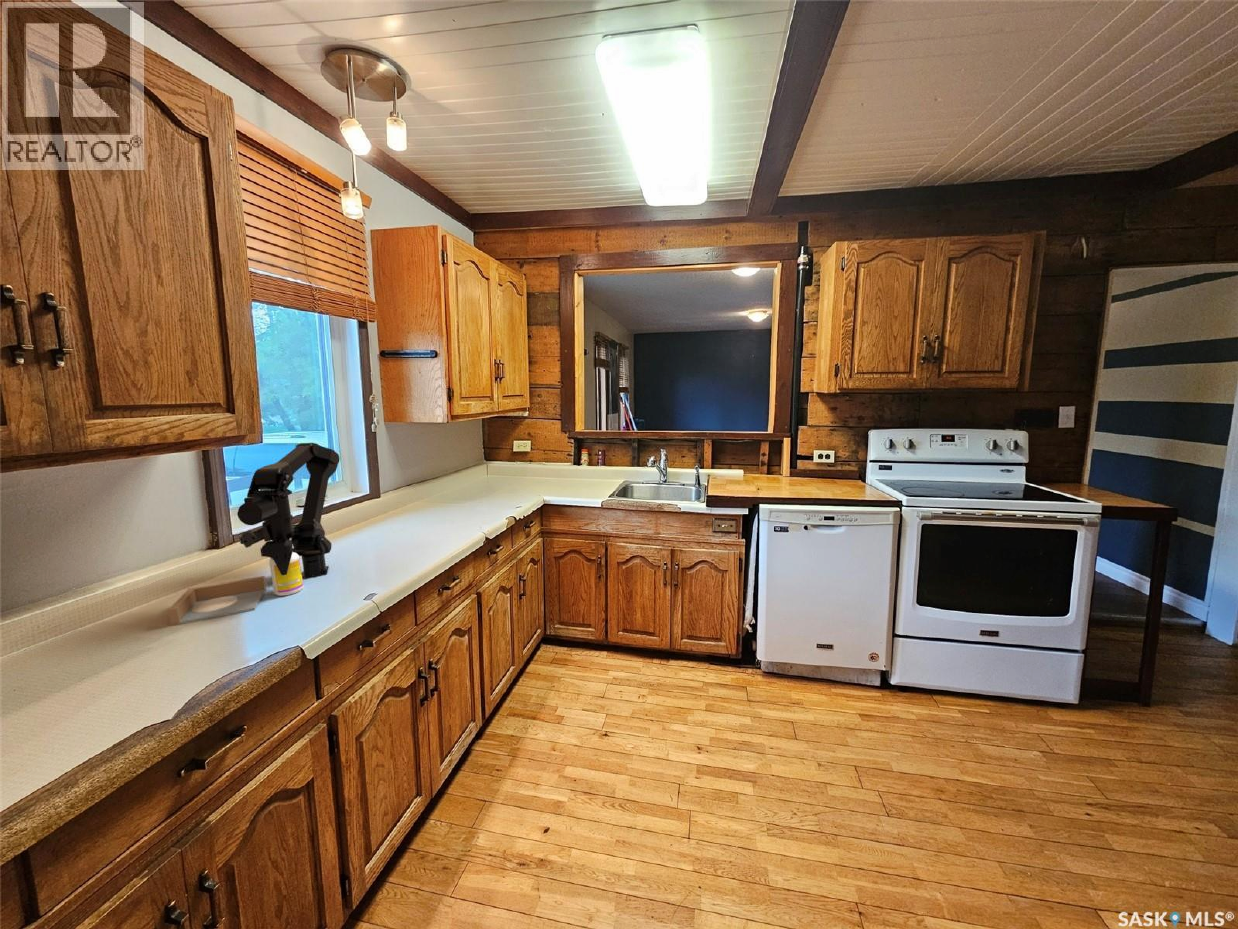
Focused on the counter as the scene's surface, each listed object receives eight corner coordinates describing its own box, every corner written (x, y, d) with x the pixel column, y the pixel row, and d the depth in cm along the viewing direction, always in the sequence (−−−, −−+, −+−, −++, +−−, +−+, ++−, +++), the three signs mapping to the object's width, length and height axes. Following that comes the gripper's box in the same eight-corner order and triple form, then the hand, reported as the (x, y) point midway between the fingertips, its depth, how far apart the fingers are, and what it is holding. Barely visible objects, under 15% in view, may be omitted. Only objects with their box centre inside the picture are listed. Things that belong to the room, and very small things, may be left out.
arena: (191, 602, 125) (188, 588, 124) (266, 589, 132) (263, 575, 131) (171, 625, 112) (168, 609, 112) (255, 609, 119) (252, 594, 119)
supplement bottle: (308, 589, 131) (302, 544, 129) (282, 598, 125) (274, 552, 123) (296, 584, 134) (289, 541, 132) (269, 593, 129) (262, 548, 127)
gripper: (248, 511, 131) (257, 565, 134) (230, 528, 115) (240, 589, 117) (296, 505, 136) (304, 557, 139) (285, 521, 120) (294, 579, 122)
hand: (286, 570), depth 129 cm, fingers closed on supplement bottle, 7 cm apart
